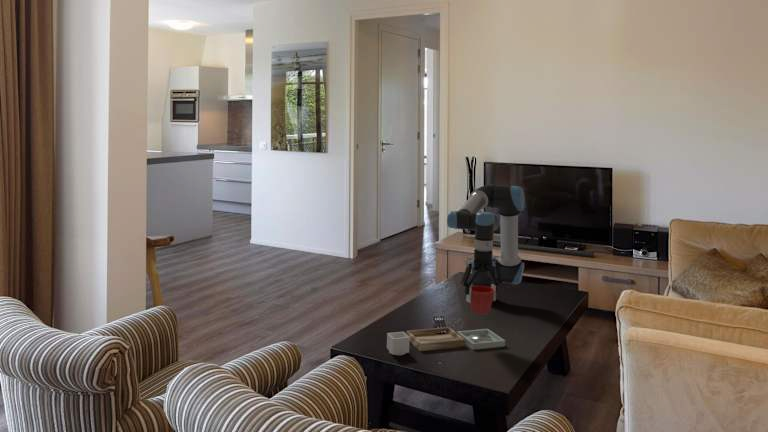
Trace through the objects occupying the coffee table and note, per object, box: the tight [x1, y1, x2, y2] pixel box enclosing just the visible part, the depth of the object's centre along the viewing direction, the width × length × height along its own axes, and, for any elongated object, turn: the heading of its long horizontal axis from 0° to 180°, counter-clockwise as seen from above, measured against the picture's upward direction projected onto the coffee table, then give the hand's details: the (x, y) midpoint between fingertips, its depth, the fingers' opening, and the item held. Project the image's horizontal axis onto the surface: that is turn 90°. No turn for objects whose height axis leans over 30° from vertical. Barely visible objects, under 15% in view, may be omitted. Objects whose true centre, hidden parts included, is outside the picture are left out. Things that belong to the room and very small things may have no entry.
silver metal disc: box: [470, 333, 491, 342], centre depth 251 cm, size 9×9×1 cm
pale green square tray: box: [456, 328, 506, 351], centre depth 251 cm, size 15×15×2 cm
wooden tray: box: [405, 326, 466, 352], centre depth 249 cm, size 16×20×3 cm
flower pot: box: [469, 286, 495, 315], centre depth 248 cm, size 11×11×10 cm
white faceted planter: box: [386, 331, 410, 356], centre depth 237 cm, size 7×7×7 cm
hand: (480, 300), depth 248 cm, fingers closed on flower pot, 11 cm apart
